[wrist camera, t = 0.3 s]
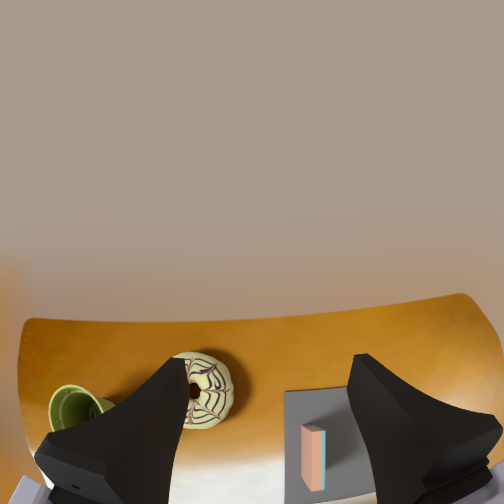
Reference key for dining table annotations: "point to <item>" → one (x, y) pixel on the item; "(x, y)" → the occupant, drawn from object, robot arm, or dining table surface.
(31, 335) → the dining table surface
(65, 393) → the plant pot
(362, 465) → the mat
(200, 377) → the decorated donut
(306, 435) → the tile
